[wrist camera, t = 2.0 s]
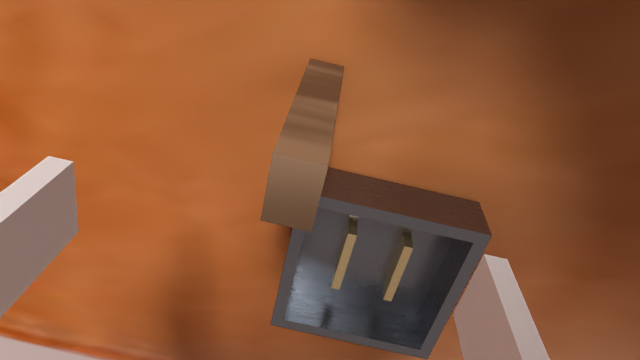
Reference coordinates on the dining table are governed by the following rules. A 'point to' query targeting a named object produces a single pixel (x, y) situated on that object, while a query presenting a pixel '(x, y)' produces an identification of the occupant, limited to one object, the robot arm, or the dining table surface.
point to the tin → (380, 264)
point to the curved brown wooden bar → (304, 149)
